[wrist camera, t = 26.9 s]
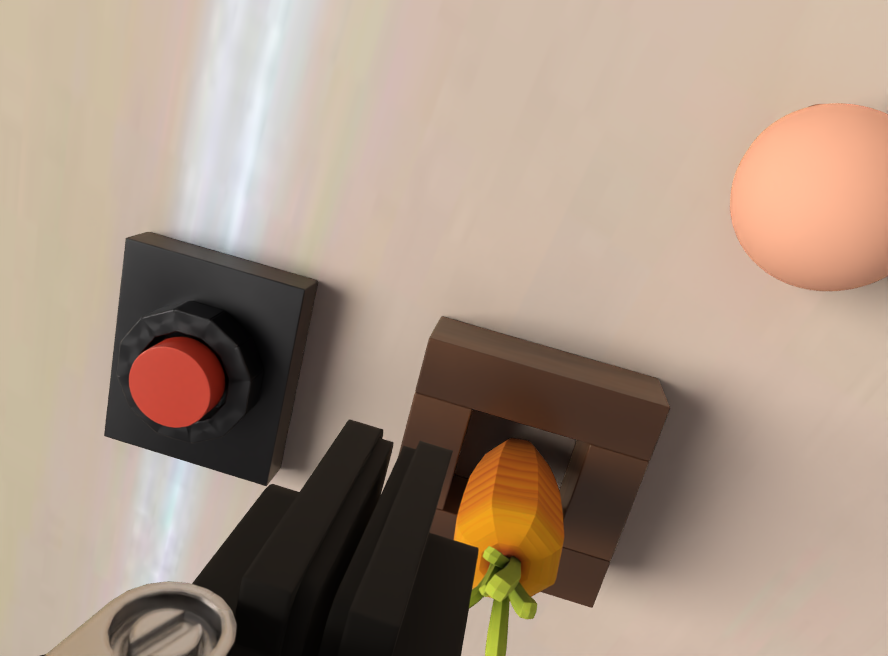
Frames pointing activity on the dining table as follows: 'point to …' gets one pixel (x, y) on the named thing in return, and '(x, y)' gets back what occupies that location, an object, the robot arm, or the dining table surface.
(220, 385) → the button
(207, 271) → the panel
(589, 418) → the holder
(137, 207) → the dining table surface
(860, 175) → the toy ball
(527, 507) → the carrot
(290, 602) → the robot arm
